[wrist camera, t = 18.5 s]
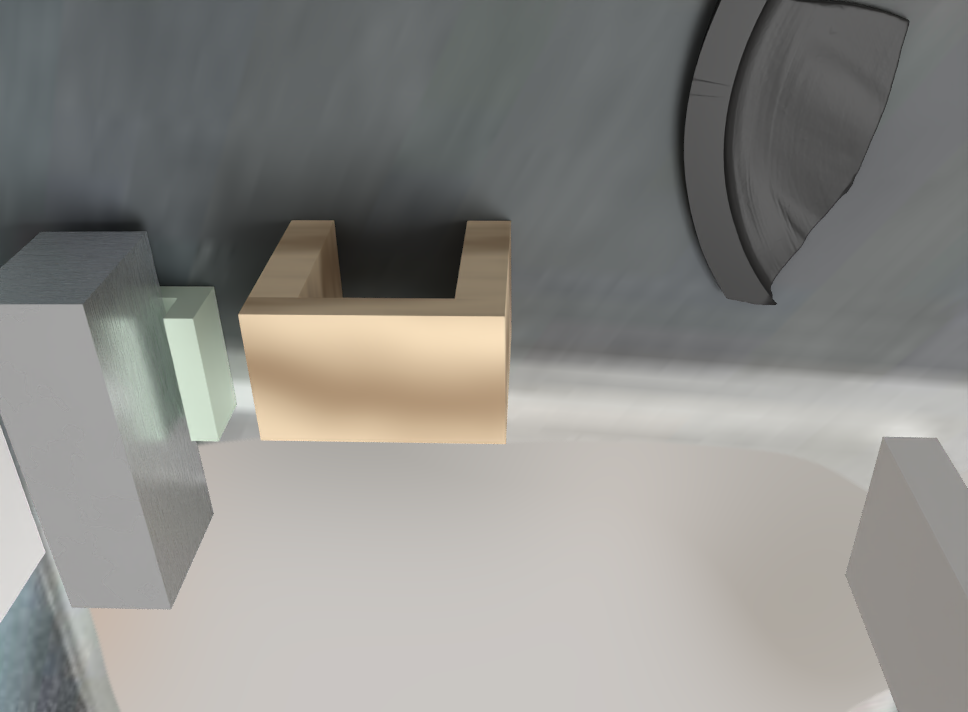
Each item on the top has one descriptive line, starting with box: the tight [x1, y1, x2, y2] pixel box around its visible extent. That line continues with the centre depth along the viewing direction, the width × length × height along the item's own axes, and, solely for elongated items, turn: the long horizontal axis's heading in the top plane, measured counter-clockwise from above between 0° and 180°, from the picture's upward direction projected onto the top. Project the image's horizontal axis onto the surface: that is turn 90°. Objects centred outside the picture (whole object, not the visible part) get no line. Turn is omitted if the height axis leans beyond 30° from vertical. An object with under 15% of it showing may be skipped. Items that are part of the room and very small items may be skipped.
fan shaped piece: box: [684, 0, 909, 305], centre depth 40 cm, size 8×14×2 cm, turn 171°
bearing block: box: [238, 220, 511, 444], centre depth 40 cm, size 6×10×9 cm, turn 91°
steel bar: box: [0, 231, 214, 609], centre depth 44 cm, size 17×5×7 cm, turn 2°
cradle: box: [160, 286, 237, 441], centre depth 46 cm, size 7×9×3 cm
